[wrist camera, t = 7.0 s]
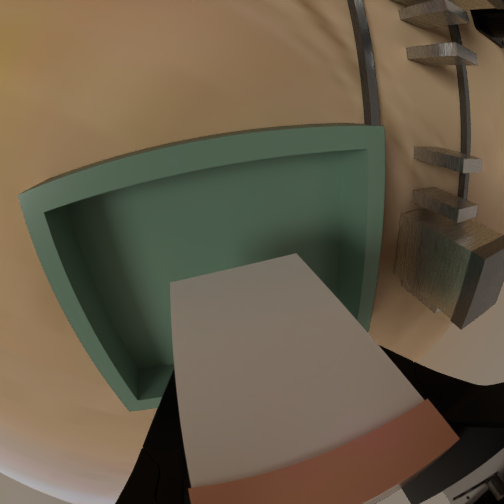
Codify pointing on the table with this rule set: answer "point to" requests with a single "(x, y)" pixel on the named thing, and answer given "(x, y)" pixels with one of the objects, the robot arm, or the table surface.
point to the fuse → (291, 393)
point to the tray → (204, 232)
